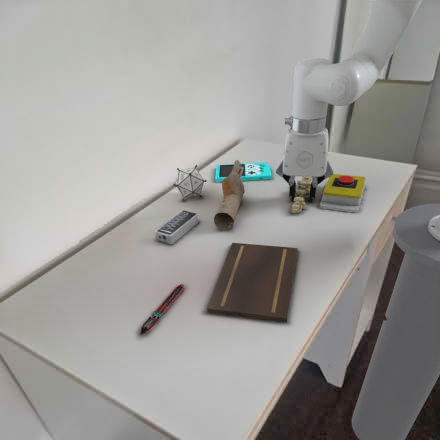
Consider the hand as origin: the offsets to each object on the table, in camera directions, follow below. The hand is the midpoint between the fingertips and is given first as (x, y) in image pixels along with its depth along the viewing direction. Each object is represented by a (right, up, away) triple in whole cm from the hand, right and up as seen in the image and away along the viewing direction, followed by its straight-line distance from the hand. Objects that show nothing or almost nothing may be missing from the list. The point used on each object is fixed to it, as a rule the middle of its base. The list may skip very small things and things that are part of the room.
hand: (301, 198), depth 95 cm
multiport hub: (-31, -10, -7) cm, 33 cm away
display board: (-14, -22, -23) cm, 35 cm away
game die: (-29, +2, +5) cm, 29 cm away
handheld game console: (-14, +11, +14) cm, 23 cm away
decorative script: (0, 0, 0) cm, 1 cm away
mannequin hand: (-18, -2, 0) cm, 18 cm away
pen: (-31, -27, -28) cm, 50 cm away
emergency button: (+10, 0, 0) cm, 10 cm away
